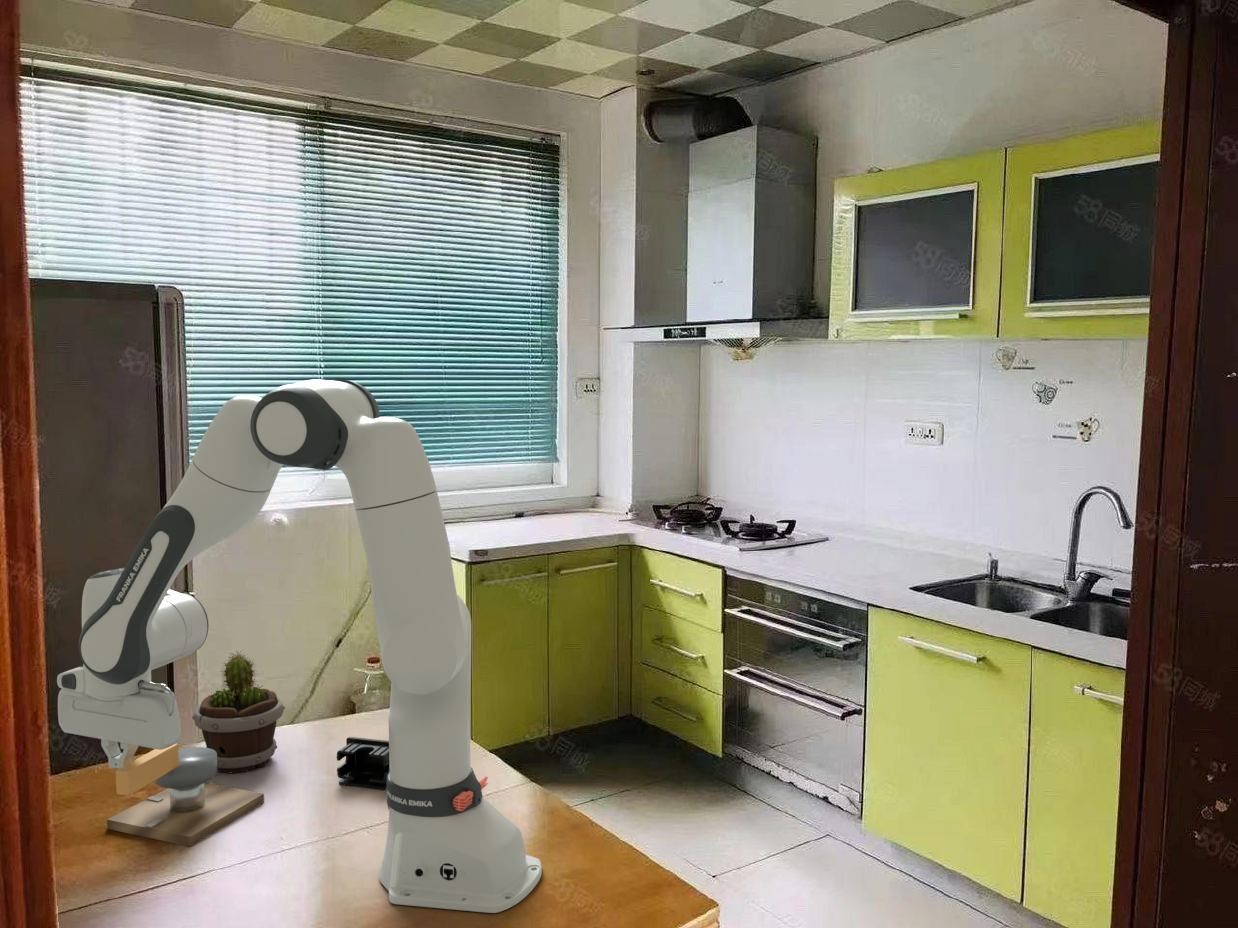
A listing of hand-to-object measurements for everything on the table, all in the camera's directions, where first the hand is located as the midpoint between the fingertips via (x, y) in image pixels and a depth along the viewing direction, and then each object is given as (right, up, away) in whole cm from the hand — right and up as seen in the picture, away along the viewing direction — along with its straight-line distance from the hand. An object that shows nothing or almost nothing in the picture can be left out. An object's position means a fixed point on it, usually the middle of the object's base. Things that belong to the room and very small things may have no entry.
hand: (121, 768), depth 148 cm
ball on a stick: (+5, -4, +4) cm, 8 cm away
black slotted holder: (+32, -9, +23) cm, 40 cm away
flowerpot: (+6, -8, +30) cm, 32 cm away
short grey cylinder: (+6, -9, +9) cm, 14 cm away
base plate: (+6, -10, +9) cm, 15 cm away
